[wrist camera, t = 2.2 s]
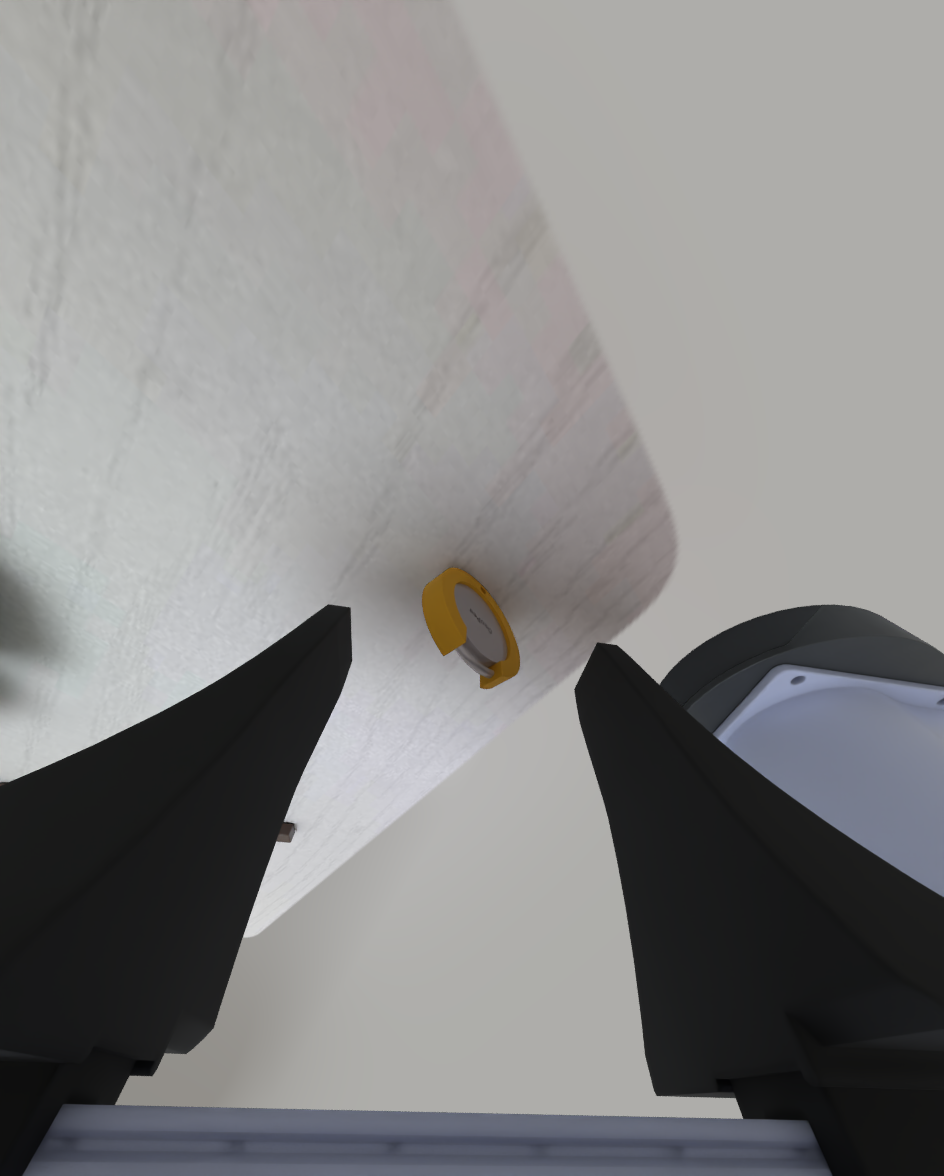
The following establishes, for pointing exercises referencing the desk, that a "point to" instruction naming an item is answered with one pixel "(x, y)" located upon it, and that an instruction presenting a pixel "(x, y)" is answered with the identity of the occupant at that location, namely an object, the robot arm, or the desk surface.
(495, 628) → the tracker
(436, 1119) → the robot arm
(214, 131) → the desk surface
